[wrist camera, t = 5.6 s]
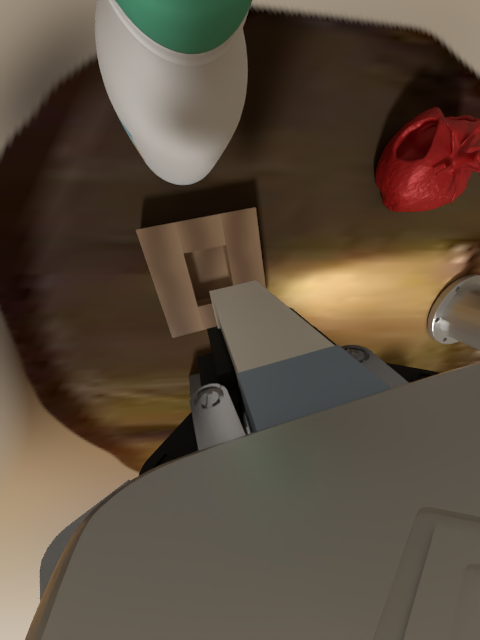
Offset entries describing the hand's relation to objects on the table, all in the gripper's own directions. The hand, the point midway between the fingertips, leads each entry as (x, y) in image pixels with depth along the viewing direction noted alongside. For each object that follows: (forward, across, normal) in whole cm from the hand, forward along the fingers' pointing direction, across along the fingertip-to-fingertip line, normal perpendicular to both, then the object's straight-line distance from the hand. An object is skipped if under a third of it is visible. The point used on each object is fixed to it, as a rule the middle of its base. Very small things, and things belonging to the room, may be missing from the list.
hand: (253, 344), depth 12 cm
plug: (+4, 0, 0) cm, 4 cm away
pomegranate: (+19, -25, -7) cm, 32 cm away
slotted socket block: (+18, +1, 0) cm, 18 cm away
